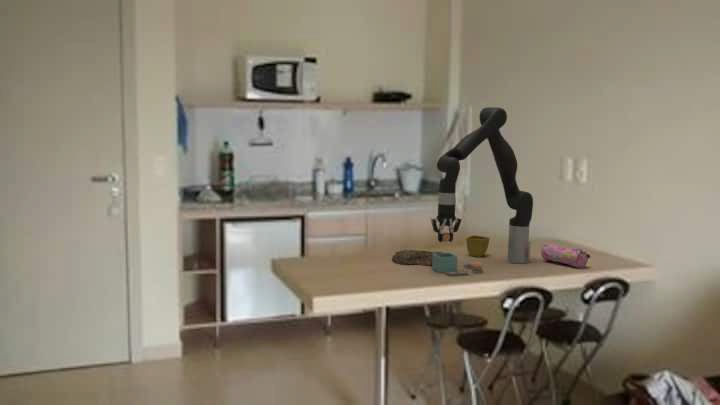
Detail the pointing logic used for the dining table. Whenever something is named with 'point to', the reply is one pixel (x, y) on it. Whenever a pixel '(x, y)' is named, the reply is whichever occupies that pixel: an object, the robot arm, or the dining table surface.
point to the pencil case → (565, 255)
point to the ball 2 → (477, 266)
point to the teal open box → (444, 262)
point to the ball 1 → (445, 237)
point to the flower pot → (477, 245)
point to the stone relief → (413, 257)
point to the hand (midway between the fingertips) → (445, 241)
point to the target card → (456, 273)
